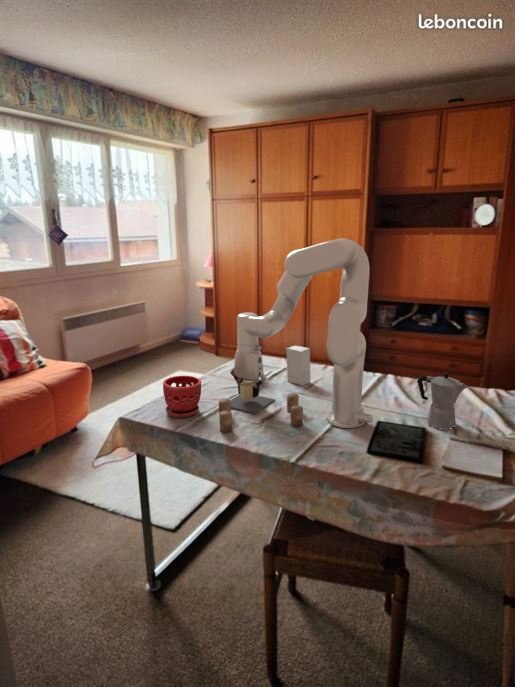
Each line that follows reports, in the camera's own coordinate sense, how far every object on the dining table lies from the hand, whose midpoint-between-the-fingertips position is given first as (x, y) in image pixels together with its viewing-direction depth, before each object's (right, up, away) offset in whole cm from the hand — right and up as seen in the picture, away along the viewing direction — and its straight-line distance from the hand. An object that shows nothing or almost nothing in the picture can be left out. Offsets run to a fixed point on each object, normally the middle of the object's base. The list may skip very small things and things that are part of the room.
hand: (248, 394), depth 168 cm
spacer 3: (+16, -5, -6) cm, 18 cm away
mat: (0, -3, +1) cm, 4 cm away
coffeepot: (+63, -8, -16) cm, 65 cm away
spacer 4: (+16, -8, -16) cm, 24 cm away
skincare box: (+20, +2, +22) cm, 30 cm away
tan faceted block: (0, -1, 0) cm, 1 cm away
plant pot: (-23, -6, -6) cm, 24 cm away
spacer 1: (-8, -7, -10) cm, 15 cm away
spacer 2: (-7, -9, -20) cm, 23 cm away
